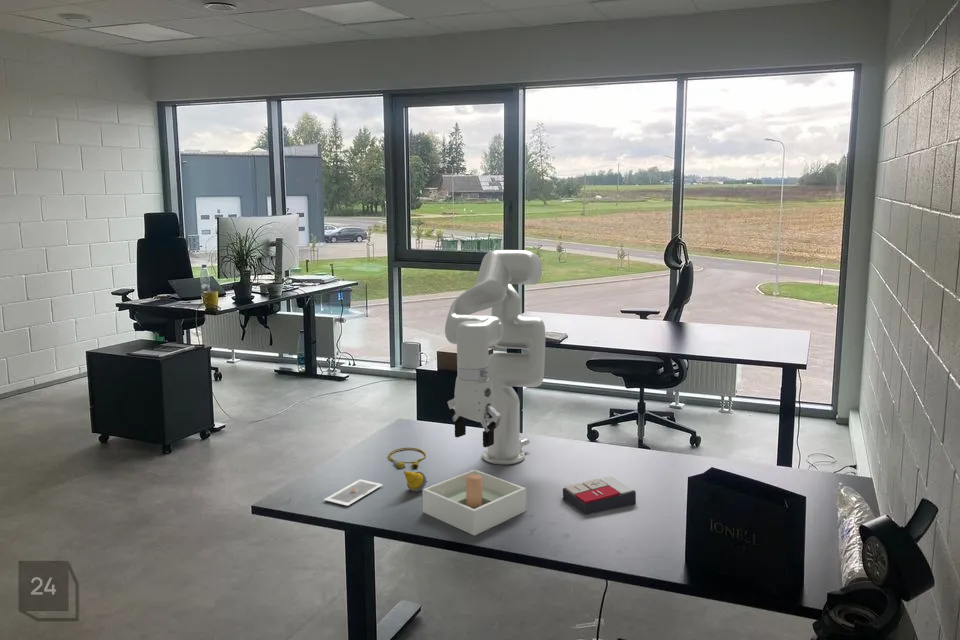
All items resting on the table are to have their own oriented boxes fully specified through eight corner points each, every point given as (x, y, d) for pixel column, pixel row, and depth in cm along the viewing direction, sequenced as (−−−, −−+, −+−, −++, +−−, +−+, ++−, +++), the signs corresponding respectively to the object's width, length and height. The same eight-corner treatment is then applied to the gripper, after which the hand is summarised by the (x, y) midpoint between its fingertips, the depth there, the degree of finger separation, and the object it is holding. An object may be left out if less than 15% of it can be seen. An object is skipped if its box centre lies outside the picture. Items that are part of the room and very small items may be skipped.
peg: (474, 506, 185) (474, 472, 183) (485, 511, 182) (485, 477, 180) (463, 511, 182) (462, 477, 180) (474, 516, 179) (474, 481, 178)
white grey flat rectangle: (323, 503, 188) (323, 495, 188) (359, 482, 201) (359, 475, 201) (347, 509, 185) (347, 501, 184) (383, 488, 198) (383, 480, 197)
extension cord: (376, 468, 212) (376, 461, 212) (397, 449, 227) (397, 443, 227) (415, 472, 209) (415, 465, 208) (434, 453, 224) (434, 447, 223)
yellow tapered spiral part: (432, 492, 195) (413, 476, 188) (415, 499, 196) (395, 483, 189) (430, 474, 198) (411, 458, 191) (413, 481, 200) (394, 465, 193)
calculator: (561, 485, 189) (611, 473, 195) (562, 501, 190) (612, 488, 196) (584, 502, 179) (636, 488, 185) (585, 518, 180) (636, 504, 186)
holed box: (474, 490, 194) (474, 469, 193) (526, 511, 182) (526, 488, 181) (423, 512, 182) (422, 489, 181) (474, 535, 169) (474, 511, 168)
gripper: (510, 376, 172) (510, 445, 176) (459, 363, 184) (460, 428, 188) (488, 383, 167) (488, 454, 170) (437, 369, 179) (438, 436, 182)
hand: (474, 440), depth 179 cm, fingers open, 9 cm apart
